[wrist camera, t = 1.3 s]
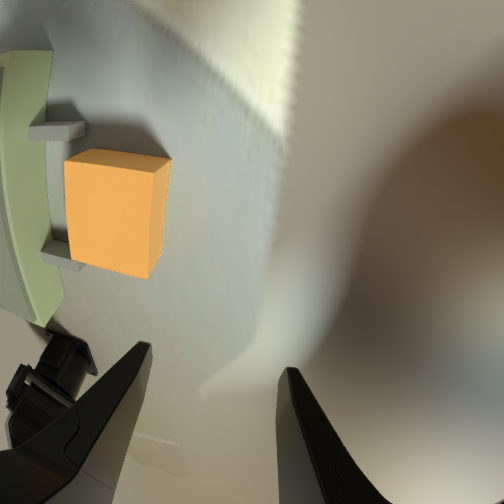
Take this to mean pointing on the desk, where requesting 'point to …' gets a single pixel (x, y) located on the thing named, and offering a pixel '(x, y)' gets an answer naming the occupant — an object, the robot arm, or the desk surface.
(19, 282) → the sage green lidded box
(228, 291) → the desk surface
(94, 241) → the amber cuboid
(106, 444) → the robot arm
